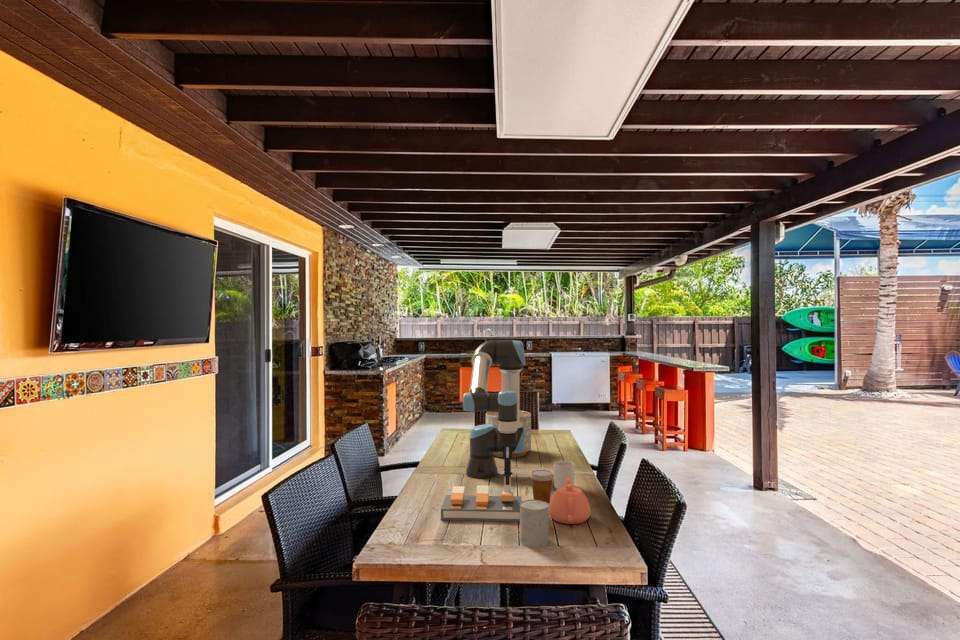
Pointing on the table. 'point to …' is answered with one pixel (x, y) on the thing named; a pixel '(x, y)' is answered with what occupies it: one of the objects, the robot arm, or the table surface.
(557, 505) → the teapot
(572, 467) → the mug
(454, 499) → the block
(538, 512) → the grey cylinder
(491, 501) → the console
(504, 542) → the table surface
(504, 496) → the rocker
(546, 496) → the disposable coffee cup
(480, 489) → the rocker
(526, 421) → the planter
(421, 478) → the table surface
